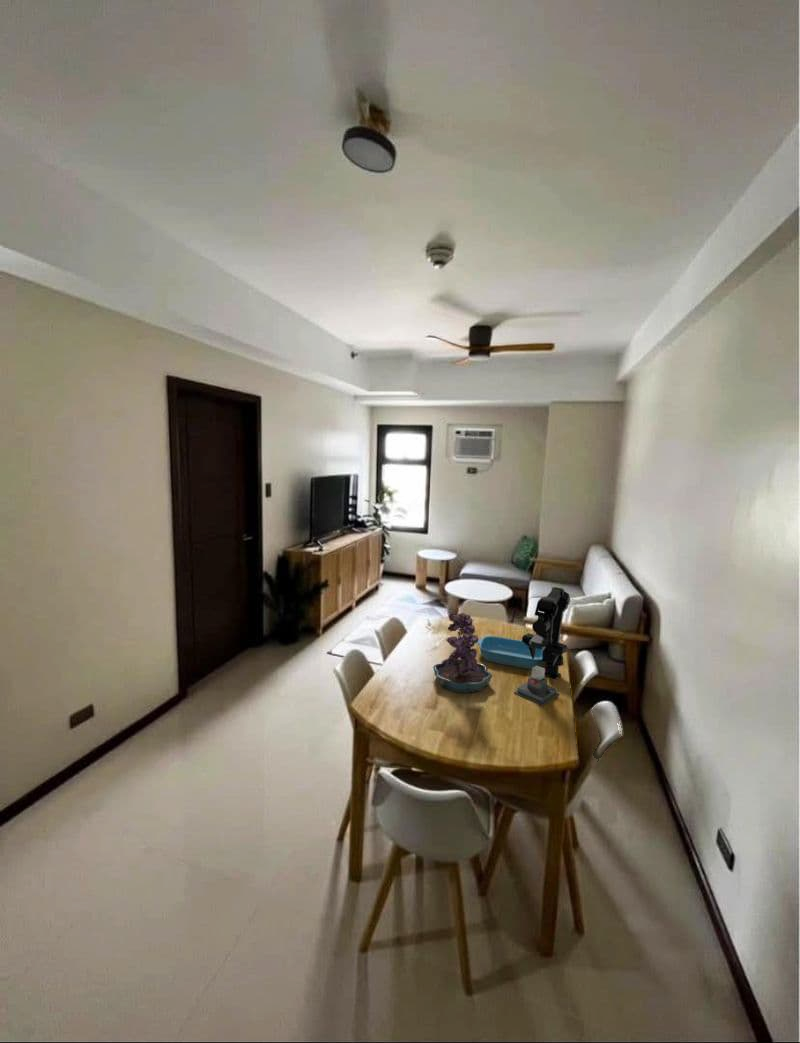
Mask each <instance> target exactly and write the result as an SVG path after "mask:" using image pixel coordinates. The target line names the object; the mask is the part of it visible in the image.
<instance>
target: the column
mask: <svg viewBox="0 0 800 1043" xmlns="http://www.w3.org/2000/svg"><path fill="white" fill-rule="evenodd" d="M545 671H546V667H545V668H544V667H543V666H541V667H539V666H535V667H533V668H532V669H531V673H530V674H531V675H530V677H531V679H533V680H536V681H538V682H541V681H543V680H544V678H545V676H546V675H545Z"/></svg>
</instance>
